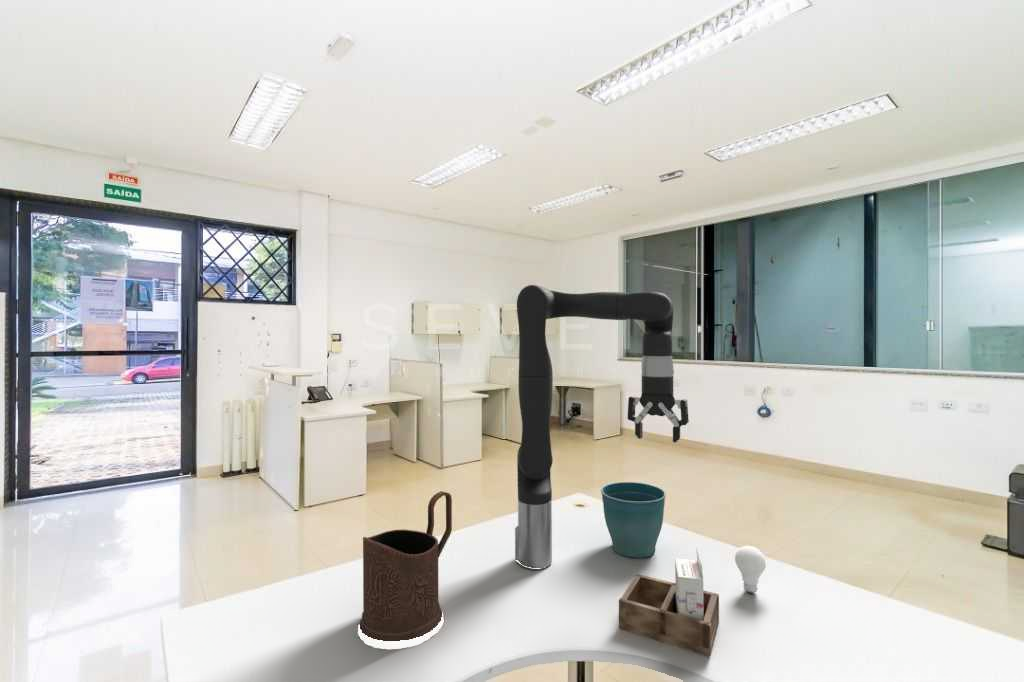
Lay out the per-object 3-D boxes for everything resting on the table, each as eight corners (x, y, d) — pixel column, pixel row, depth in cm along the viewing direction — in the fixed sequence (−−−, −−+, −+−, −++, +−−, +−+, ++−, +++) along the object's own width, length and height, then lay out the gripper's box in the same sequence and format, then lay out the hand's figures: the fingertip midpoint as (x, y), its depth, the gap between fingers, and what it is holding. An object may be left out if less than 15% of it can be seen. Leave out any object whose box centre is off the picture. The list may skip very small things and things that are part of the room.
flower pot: (600, 560, 131) (599, 499, 131) (602, 534, 148) (602, 479, 148) (668, 567, 127) (668, 503, 127) (662, 539, 144) (662, 483, 144)
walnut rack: (618, 628, 100) (618, 600, 100) (635, 598, 112) (635, 573, 112) (710, 657, 91) (710, 625, 91) (718, 621, 102) (718, 594, 102)
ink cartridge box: (674, 610, 104) (674, 543, 104) (698, 613, 103) (698, 545, 103) (678, 634, 96) (678, 561, 96) (704, 638, 95) (704, 564, 95)
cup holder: (338, 627, 101) (337, 510, 101) (423, 581, 120) (423, 482, 120) (395, 663, 90) (394, 531, 90) (479, 606, 109) (478, 497, 109)
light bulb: (763, 588, 116) (763, 543, 116) (768, 602, 110) (768, 554, 110) (733, 583, 118) (733, 539, 118) (736, 597, 112) (736, 550, 112)
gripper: (624, 374, 117) (624, 439, 117) (684, 376, 110) (684, 446, 110) (632, 372, 124) (633, 434, 124) (690, 374, 117) (690, 440, 117)
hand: (657, 440), depth 117 cm, fingers open, 8 cm apart
